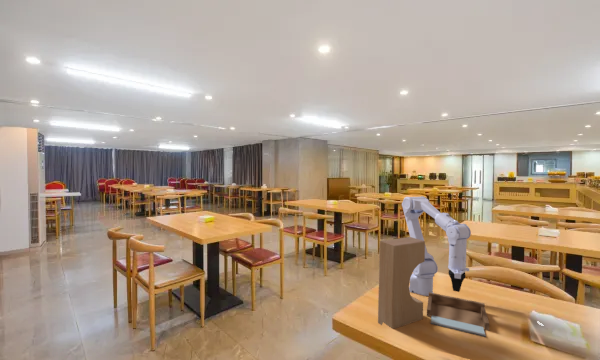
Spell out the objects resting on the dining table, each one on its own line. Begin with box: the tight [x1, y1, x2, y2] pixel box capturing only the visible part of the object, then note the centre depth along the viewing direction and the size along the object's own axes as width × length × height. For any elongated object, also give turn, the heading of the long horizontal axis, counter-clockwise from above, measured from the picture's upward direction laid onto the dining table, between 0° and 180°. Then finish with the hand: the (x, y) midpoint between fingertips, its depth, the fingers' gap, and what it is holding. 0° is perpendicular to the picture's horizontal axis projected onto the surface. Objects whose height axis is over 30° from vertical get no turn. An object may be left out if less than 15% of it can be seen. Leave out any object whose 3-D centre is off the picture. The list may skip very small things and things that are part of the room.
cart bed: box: [426, 292, 490, 332], centre depth 104 cm, size 19×14×5 cm
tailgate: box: [430, 315, 487, 338], centre depth 96 cm, size 16×1×6 cm
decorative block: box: [377, 236, 426, 330], centre depth 100 cm, size 15×8×30 cm, turn 116°
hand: (456, 290), depth 106 cm, fingers closed
